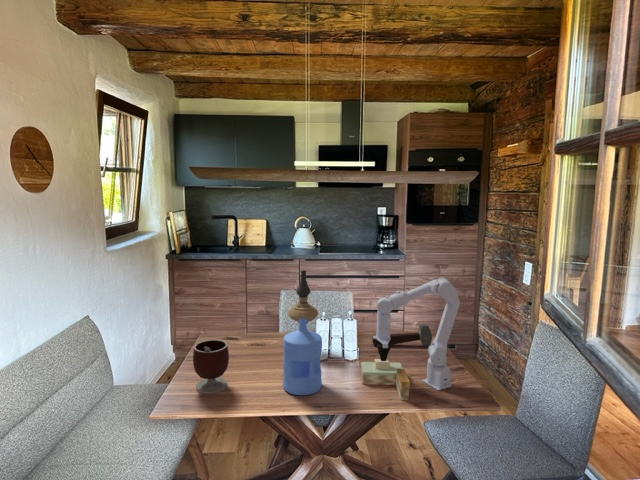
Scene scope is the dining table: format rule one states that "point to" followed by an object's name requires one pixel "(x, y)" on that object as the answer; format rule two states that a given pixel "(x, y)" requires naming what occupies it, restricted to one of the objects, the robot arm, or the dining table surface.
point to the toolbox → (386, 383)
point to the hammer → (411, 337)
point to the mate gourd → (211, 365)
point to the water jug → (302, 361)
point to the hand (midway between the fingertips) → (382, 357)
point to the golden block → (403, 378)
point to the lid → (380, 368)
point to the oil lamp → (303, 303)
